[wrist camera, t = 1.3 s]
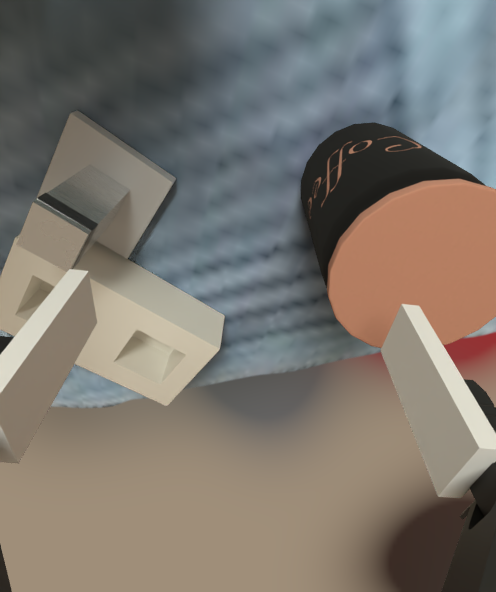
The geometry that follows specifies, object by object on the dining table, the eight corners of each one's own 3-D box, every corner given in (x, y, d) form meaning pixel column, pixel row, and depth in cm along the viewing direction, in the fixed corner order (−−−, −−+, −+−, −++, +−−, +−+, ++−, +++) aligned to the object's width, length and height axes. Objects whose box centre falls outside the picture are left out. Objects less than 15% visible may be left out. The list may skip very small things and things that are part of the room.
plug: (73, 198, 35) (15, 244, 27) (89, 163, 33) (32, 200, 25) (113, 222, 36) (68, 273, 28) (130, 189, 34) (89, 234, 26)
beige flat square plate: (41, 199, 37) (34, 204, 35) (77, 110, 32) (70, 112, 31) (131, 252, 40) (127, 259, 38) (176, 178, 35) (173, 183, 34)
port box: (14, 291, 43) (-18, 323, 38) (48, 212, 37) (15, 237, 32) (175, 372, 50) (165, 407, 45) (224, 315, 44) (220, 349, 39)
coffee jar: (391, 93, 30) (515, 135, 16) (427, 200, 35) (548, 309, 21) (279, 161, 34) (294, 248, 19) (327, 250, 39) (368, 374, 24)
